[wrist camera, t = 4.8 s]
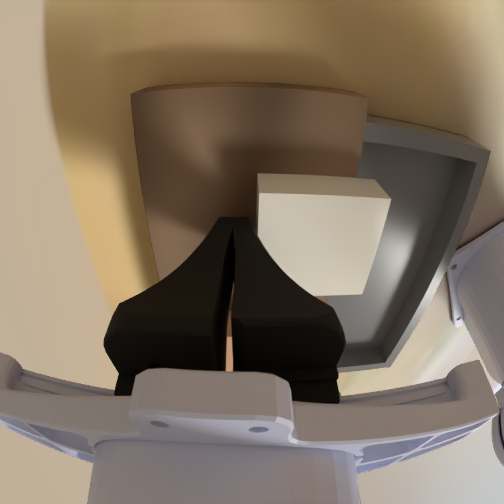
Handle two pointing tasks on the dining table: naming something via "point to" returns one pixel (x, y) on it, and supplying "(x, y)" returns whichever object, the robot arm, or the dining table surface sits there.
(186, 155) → the walnut ledge
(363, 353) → the tray
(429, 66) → the dining table surface
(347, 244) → the cream tile
